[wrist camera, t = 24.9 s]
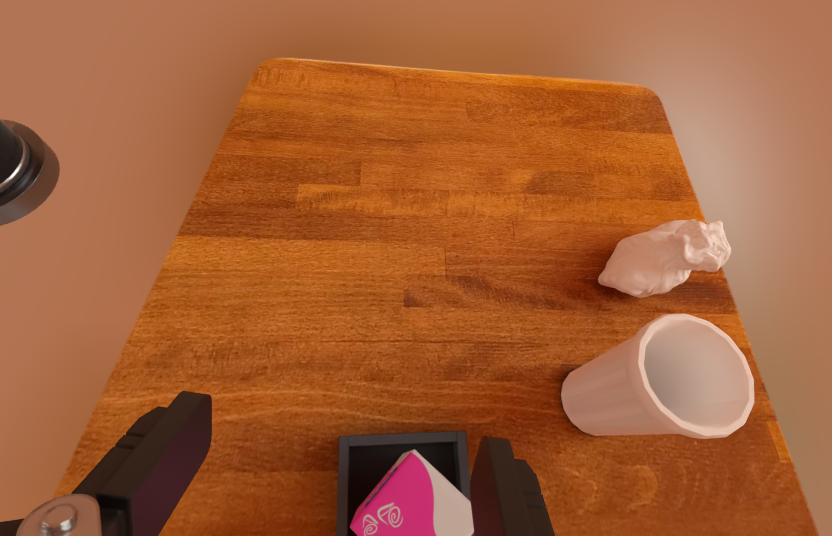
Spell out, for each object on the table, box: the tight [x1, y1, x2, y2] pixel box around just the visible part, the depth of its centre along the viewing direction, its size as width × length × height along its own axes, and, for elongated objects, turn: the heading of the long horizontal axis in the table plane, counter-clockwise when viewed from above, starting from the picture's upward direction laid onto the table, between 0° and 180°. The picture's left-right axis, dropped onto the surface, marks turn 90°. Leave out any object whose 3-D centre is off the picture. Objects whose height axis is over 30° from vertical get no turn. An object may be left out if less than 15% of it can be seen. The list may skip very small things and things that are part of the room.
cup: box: [561, 314, 754, 439], centre depth 35 cm, size 8×8×14 cm
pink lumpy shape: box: [598, 219, 731, 298], centre depth 43 cm, size 12×8×11 cm
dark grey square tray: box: [337, 431, 475, 536], centre depth 35 cm, size 10×10×3 cm
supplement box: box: [350, 449, 474, 536], centre depth 30 cm, size 6×6×12 cm
